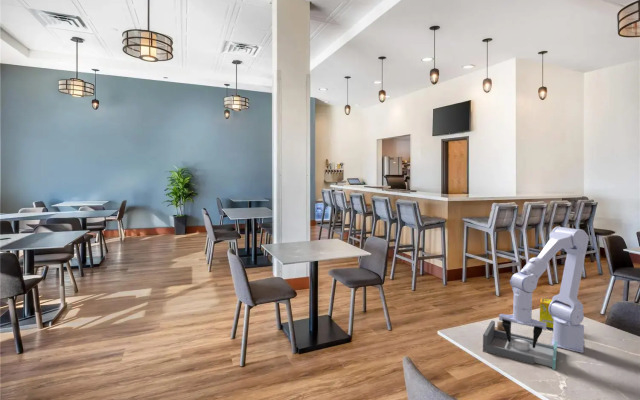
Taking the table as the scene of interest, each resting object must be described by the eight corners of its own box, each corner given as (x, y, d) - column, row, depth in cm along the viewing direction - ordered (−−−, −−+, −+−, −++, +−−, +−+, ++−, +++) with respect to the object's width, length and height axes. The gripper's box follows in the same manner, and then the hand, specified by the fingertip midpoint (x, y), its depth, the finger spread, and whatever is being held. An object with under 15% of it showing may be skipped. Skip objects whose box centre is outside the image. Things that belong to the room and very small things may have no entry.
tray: (557, 350, 123) (557, 341, 123) (555, 369, 111) (555, 360, 110) (510, 339, 132) (510, 330, 132) (503, 356, 120) (503, 347, 119)
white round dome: (530, 347, 124) (530, 341, 124) (528, 353, 120) (528, 347, 119) (513, 343, 127) (513, 338, 127) (511, 348, 123) (512, 343, 122)
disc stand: (510, 330, 140) (510, 322, 140) (508, 336, 135) (508, 327, 135) (494, 327, 144) (494, 319, 144) (491, 332, 139) (492, 323, 139)
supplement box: (539, 322, 148) (540, 297, 148) (556, 325, 145) (557, 300, 144) (538, 327, 144) (539, 301, 143) (556, 330, 140) (557, 304, 140)
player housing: (537, 346, 127) (537, 330, 127) (533, 364, 114) (534, 347, 114) (491, 335, 136) (491, 320, 136) (482, 351, 123) (483, 334, 123)
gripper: (497, 305, 123) (497, 342, 124) (545, 315, 115) (544, 354, 116) (501, 300, 129) (500, 335, 130) (547, 308, 121) (546, 346, 121)
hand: (521, 343), depth 123 cm, fingers open, 7 cm apart
